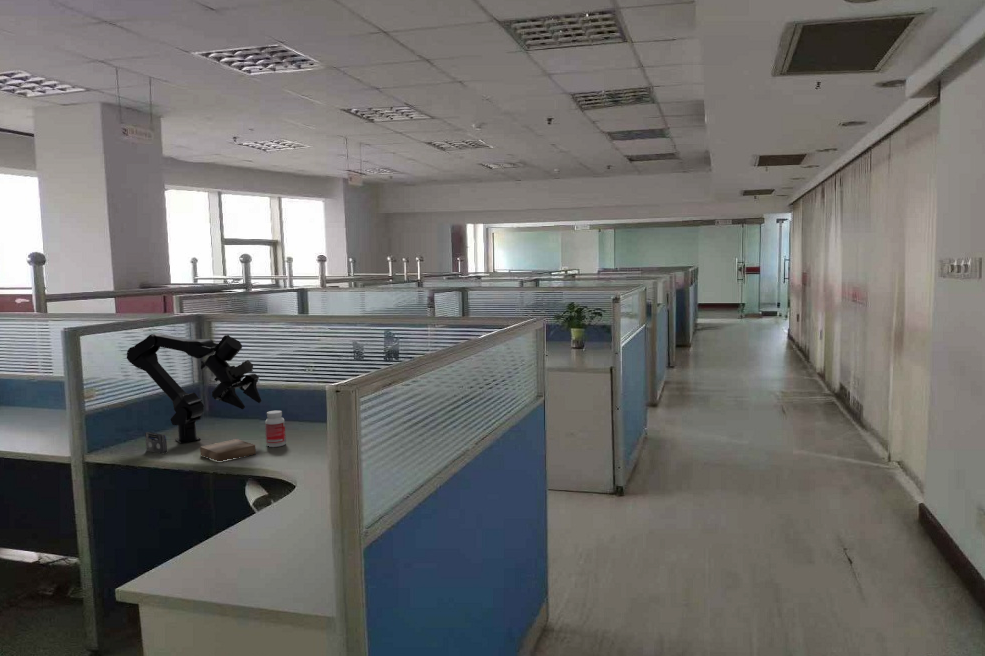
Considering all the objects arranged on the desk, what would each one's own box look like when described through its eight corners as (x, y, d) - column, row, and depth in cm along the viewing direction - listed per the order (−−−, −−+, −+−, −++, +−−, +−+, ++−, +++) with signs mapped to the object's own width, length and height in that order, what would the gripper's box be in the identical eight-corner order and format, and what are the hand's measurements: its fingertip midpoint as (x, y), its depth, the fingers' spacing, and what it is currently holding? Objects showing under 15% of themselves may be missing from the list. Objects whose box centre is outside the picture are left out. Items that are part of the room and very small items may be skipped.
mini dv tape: (167, 452, 232) (165, 434, 231) (163, 454, 230) (161, 435, 230) (150, 449, 236) (149, 431, 235) (146, 451, 234) (145, 432, 234)
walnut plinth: (200, 456, 227) (200, 446, 226) (236, 447, 235) (236, 438, 235) (219, 463, 219) (218, 453, 218) (255, 454, 227) (255, 445, 227)
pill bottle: (288, 445, 237) (286, 412, 236) (269, 448, 233) (267, 414, 232) (282, 441, 242) (280, 408, 241) (264, 444, 239) (262, 411, 237)
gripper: (218, 358, 228) (250, 395, 227) (253, 349, 246) (282, 383, 244) (198, 381, 231) (229, 417, 230) (233, 371, 249) (263, 405, 247)
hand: (252, 405), depth 238 cm, fingers open, 9 cm apart
